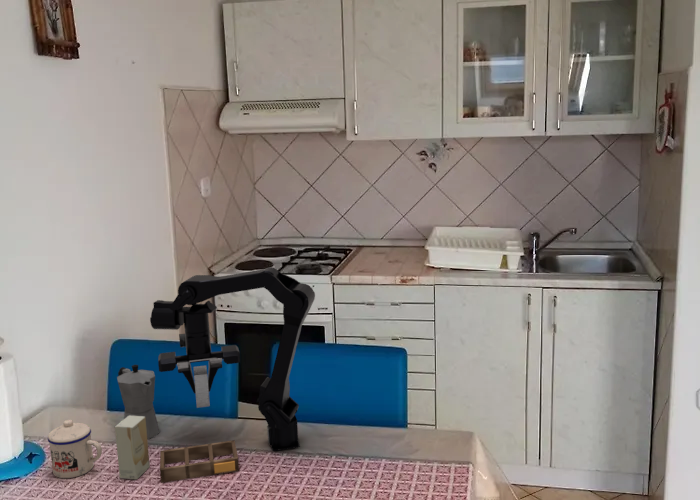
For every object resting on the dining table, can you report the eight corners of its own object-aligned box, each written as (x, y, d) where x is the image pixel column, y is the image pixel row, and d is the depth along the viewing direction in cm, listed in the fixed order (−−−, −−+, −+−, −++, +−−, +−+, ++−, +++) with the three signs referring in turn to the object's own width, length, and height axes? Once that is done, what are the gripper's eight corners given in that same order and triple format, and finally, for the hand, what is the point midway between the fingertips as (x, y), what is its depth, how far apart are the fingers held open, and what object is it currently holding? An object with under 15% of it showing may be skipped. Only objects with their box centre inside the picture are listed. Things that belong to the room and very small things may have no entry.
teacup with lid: (43, 477, 154) (36, 428, 152) (68, 457, 162) (62, 411, 160) (91, 482, 151) (85, 432, 149) (114, 461, 160) (109, 414, 158)
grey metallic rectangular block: (208, 396, 170) (206, 365, 169) (209, 406, 165) (207, 374, 163) (195, 397, 170) (193, 366, 168) (196, 407, 164) (194, 375, 162)
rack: (235, 452, 163) (234, 440, 162) (239, 471, 153) (238, 459, 153) (161, 462, 159) (160, 450, 158) (161, 483, 150) (159, 470, 149)
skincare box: (137, 480, 151) (131, 428, 149) (118, 479, 152) (113, 427, 150) (151, 465, 157) (146, 415, 155) (133, 464, 158) (128, 414, 156)
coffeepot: (171, 434, 173) (165, 366, 169) (136, 448, 166) (129, 377, 163) (141, 416, 183) (135, 352, 180) (107, 428, 177) (100, 361, 174)
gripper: (234, 316, 173) (238, 375, 177) (156, 324, 169) (162, 384, 172) (238, 329, 163) (242, 391, 166) (155, 337, 158) (161, 402, 162)
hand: (202, 392), depth 167 cm, fingers closed on grey metallic rectangular block, 3 cm apart
